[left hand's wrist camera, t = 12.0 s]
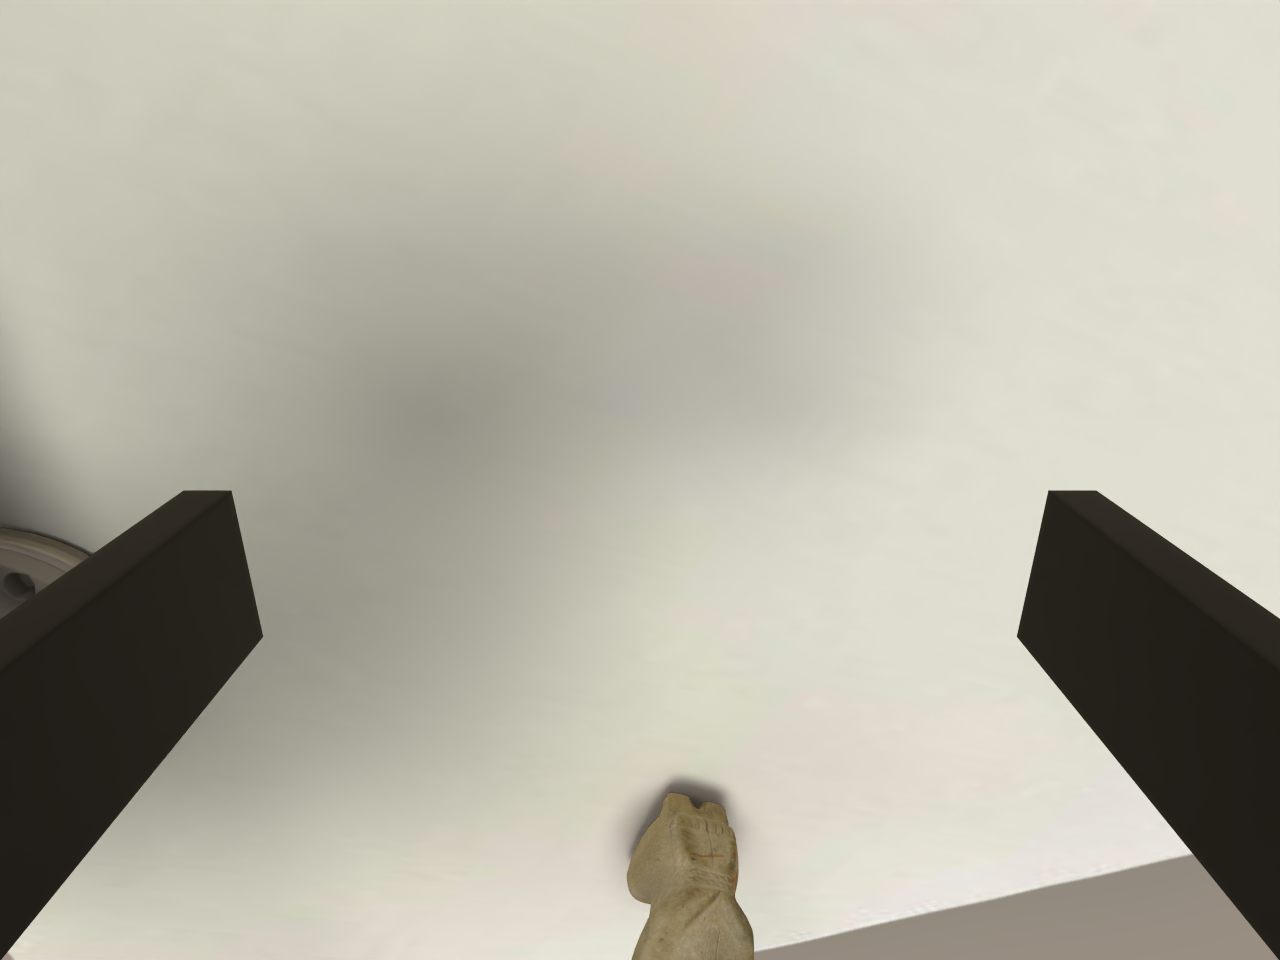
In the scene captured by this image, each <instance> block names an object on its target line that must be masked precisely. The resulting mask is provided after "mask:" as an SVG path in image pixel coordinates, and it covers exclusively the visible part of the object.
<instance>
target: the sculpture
mask: <svg viewBox="0 0 1280 960" xmlns="http://www.w3.org/2000/svg"><path fill="white" fill-rule="evenodd" d="M737 881H738V854H737V845H736V839H735V834H734V831H733V830H732V828H731V827H729V826H728V820H727V816H726V811H725V809H724V807H723V806H721V805H718V804H715V803H712V802H704V803H703V804H702V805H701V806H700V808H699V809H697V808H695V807H694V806H693V804H692V802H691V801H690V799H689V797H688V796H686V795H682V794H677V793H669V794H668V795H667V796H666V797H665V799H664V801H663V804H662V811H661V813H660V815H659V817H658V818H657V819H656V820H655V821H654V822H653V823H652V824H651V825H650V826H649V827H648V829H647V830H646V832H645V833H644V835H643V836H642V838H641V840H640V842H639V843H638V845H637V847H636V849H635V851H634V853H633V856H632V859H631V862H630V865H629V869H628V873H627V883H628V888H629V891H630V893H631V895H632V896H633V897H634V898H635V899H636V900H638V901H640V902H643V903H647V904H651V909H650V915H649V918H648V920H647V922H646V924H645V926H644V929H643V931H642V933H641V935H640V937H639V940H638V943H637V945H636V948H635V951H634V954H633V957H632V960H754V940H753V932H752V928H751V926H750V924H749V921H748V919H747V917H746V916H745V914H744V912H743V911H742V909H741V908H740V906H739V905H738V903H737V901H736V899H735V891H736V887H737Z"/></svg>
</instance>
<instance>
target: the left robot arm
mask: <svg viewBox="0 0 1280 960" xmlns="http://www.w3.org/2000/svg"><path fill="white" fill-rule="evenodd" d="M262 637H263V634H262V629H261V625H260V620H259V615H258V611H257V606H256V602H255V597H254V592H253V588H252V583H251V579H250V574H249V569H248V565H247V560H246V556H245V551H244V546H243V542H242V537H241V532H240V528H239V523H238V519H237V514H236V509H235V505H234V500H233V496H232V491H182V492H181V493H180V494H178V495H177V496H175V497H174V498H172V499H171V500H170V501H168V502H167V503H165V504H164V505H162V506H161V507H160V508H158V509H157V510H155V511H154V512H152V513H151V514H150V515H148V516H147V517H145V518H144V519H142V520H141V521H140V522H138V523H137V524H135V525H134V526H132V527H131V528H129V529H128V530H127V531H125V532H124V533H122V534H121V535H119V536H118V537H117V538H115V539H114V540H112V541H111V542H109V543H108V544H107V545H105V546H104V547H102V548H101V549H99V550H98V551H97V552H95V553H94V554H92V555H91V556H89V555H87V554H85V553H83V552H81V551H79V550H77V549H75V548H73V547H70V546H68V545H66V544H64V543H61V542H58V541H55V540H53V539H50V538H47V537H44V536H40V535H36V534H33V533H29V532H24V531H18V530H13V529H5V528H0V960H1V959H2V958H3V957H4V955H5V954H6V953H7V952H8V951H9V949H10V948H11V947H12V946H13V944H14V943H15V942H16V941H17V939H18V938H19V937H20V936H21V935H22V933H23V932H24V931H25V930H26V928H27V927H28V926H29V925H30V923H31V922H32V921H33V920H34V919H35V917H36V916H37V915H38V914H39V912H40V911H41V910H42V909H43V907H44V906H45V905H46V904H47V902H48V901H49V900H50V899H51V898H52V896H53V895H54V894H55V893H56V891H57V890H58V889H59V888H60V886H61V885H62V884H63V883H64V882H65V880H66V879H67V878H68V877H69V875H70V874H71V873H72V872H73V870H74V869H75V868H76V867H77V865H78V864H79V863H80V862H81V861H82V859H83V858H84V857H85V856H86V854H87V853H88V852H89V851H90V849H91V848H92V847H93V846H94V845H95V843H96V842H97V841H98V840H99V838H100V837H101V836H102V835H103V833H104V832H105V831H106V830H107V828H108V827H109V826H110V825H111V824H112V822H113V821H114V820H115V819H116V817H117V816H118V815H119V814H120V812H121V811H122V810H123V809H124V808H125V806H126V805H127V804H128V803H129V801H130V800H131V799H132V798H133V796H134V795H135V794H136V793H137V792H138V790H139V789H140V788H141V787H142V785H143V784H144V783H145V782H146V780H147V779H148V778H149V777H150V775H151V774H152V773H153V772H154V771H155V769H156V768H157V767H158V766H159V764H160V763H161V762H162V761H163V759H164V758H165V757H166V756H167V755H168V753H169V752H170V751H171V750H172V748H173V747H174V746H175V745H176V743H177V742H178V741H179V740H180V738H181V737H182V736H183V735H184V734H185V732H186V731H187V730H188V729H189V727H190V726H191V725H192V724H193V722H194V721H195V720H196V719H197V718H198V716H199V715H200V714H201V713H202V711H203V710H204V709H205V708H206V706H207V705H208V704H209V703H210V701H211V700H212V699H213V698H214V697H215V695H216V694H217V693H218V692H219V690H220V689H221V688H222V687H223V685H224V684H225V683H226V682H227V681H228V679H229V678H230V677H231V676H232V674H233V673H234V672H235V671H236V669H237V668H238V667H239V666H240V664H241V663H242V662H243V661H244V660H245V658H246V657H247V656H248V655H249V653H250V652H251V651H252V650H253V648H254V647H255V646H256V645H257V644H258V642H259V641H260V640H261V639H262ZM1017 637H1018V639H1019V640H1020V641H1021V642H1022V644H1023V645H1024V646H1025V647H1026V648H1027V650H1028V651H1029V652H1030V653H1031V655H1032V656H1033V657H1034V658H1035V660H1036V661H1037V662H1038V663H1039V664H1040V666H1041V667H1042V668H1043V669H1044V671H1045V672H1046V673H1047V674H1048V676H1049V677H1050V678H1051V679H1052V681H1053V682H1054V683H1055V684H1056V685H1057V687H1058V688H1059V689H1060V690H1061V692H1062V693H1063V694H1064V695H1065V697H1066V698H1067V699H1068V700H1069V701H1070V703H1071V704H1072V705H1073V706H1074V708H1075V709H1076V710H1077V711H1078V713H1079V714H1080V715H1081V716H1082V718H1083V719H1084V720H1085V721H1086V722H1087V724H1088V725H1089V726H1090V727H1091V729H1092V730H1093V731H1094V732H1095V734H1096V735H1097V736H1098V737H1099V738H1100V740H1101V741H1102V742H1103V743H1104V745H1105V746H1106V747H1107V748H1108V750H1109V751H1110V752H1111V753H1112V755H1113V756H1114V757H1115V758H1116V759H1117V761H1118V762H1119V763H1120V764H1121V766H1122V767H1123V768H1124V769H1125V771H1126V772H1127V773H1128V774H1129V775H1130V777H1131V778H1132V779H1133V780H1134V782H1135V783H1136V784H1137V785H1138V787H1139V788H1140V789H1141V790H1142V792H1143V793H1144V794H1145V795H1146V796H1147V798H1148V799H1149V800H1150V801H1151V803H1152V804H1153V805H1154V806H1155V808H1156V809H1157V810H1158V811H1159V812H1160V814H1161V815H1162V816H1163V817H1164V819H1165V820H1166V821H1167V822H1168V824H1169V825H1170V826H1171V827H1172V828H1173V830H1174V831H1175V832H1176V833H1177V835H1178V836H1179V837H1180V838H1181V840H1182V841H1183V842H1184V843H1185V845H1186V846H1187V847H1188V848H1189V849H1190V851H1191V852H1192V853H1193V854H1194V856H1195V857H1196V858H1197V859H1198V861H1199V862H1200V863H1201V864H1202V865H1203V867H1204V868H1205V869H1206V870H1207V872H1208V873H1209V874H1210V875H1211V877H1212V878H1213V879H1214V880H1215V882H1216V883H1217V884H1218V885H1219V886H1220V888H1221V889H1222V890H1223V891H1224V893H1225V894H1226V895H1227V896H1228V898H1229V899H1230V900H1231V901H1232V902H1233V904H1234V905H1235V906H1236V907H1237V909H1238V910H1239V911H1240V912H1241V914H1242V915H1243V916H1244V917H1245V919H1246V920H1247V921H1248V922H1249V923H1250V925H1251V926H1252V927H1253V928H1254V930H1255V931H1256V932H1257V933H1258V935H1259V936H1260V937H1261V938H1262V939H1263V941H1264V942H1265V943H1266V944H1267V946H1268V947H1269V948H1270V949H1271V951H1272V952H1273V953H1274V954H1275V956H1276V957H1277V958H1278V959H1279V960H1280V619H1279V618H1278V617H1276V616H1275V615H1274V614H1272V613H1271V612H1269V611H1268V610H1266V609H1265V608H1264V607H1262V606H1261V605H1259V604H1258V603H1256V602H1255V601H1254V600H1252V599H1251V598H1249V597H1248V596H1246V595H1245V594H1244V593H1242V592H1241V591H1239V590H1238V589H1236V588H1235V587H1234V586H1232V585H1231V584H1229V583H1228V582H1226V581H1225V580H1224V579H1222V578H1221V577H1219V576H1218V575H1216V574H1215V573H1213V572H1212V571H1211V570H1209V569H1208V568H1206V567H1205V566H1203V565H1202V564H1201V563H1199V562H1198V561H1196V560H1195V559H1193V558H1192V557H1191V556H1189V555H1188V554H1186V553H1185V552H1183V551H1182V550H1181V549H1179V548H1178V547H1176V546H1175V545H1173V544H1172V543H1171V542H1169V541H1168V540H1166V539H1165V538H1163V537H1162V536H1161V535H1159V534H1158V533H1156V532H1155V531H1153V530H1152V529H1151V528H1149V527H1148V526H1146V525H1145V524H1143V523H1142V522H1140V521H1139V520H1138V519H1136V518H1135V517H1133V516H1132V515H1130V514H1129V513H1128V512H1126V511H1125V510H1123V509H1122V508H1120V507H1119V506H1118V505H1116V504H1115V503H1113V502H1112V501H1110V500H1109V499H1108V498H1106V497H1105V496H1103V495H1102V494H1100V493H1099V492H1098V491H1048V496H1047V500H1046V505H1045V509H1044V514H1043V519H1042V523H1041V528H1040V532H1039V537H1038V542H1037V546H1036V551H1035V556H1034V560H1033V565H1032V569H1031V574H1030V579H1029V583H1028V588H1027V592H1026V597H1025V602H1024V606H1023V611H1022V615H1021V620H1020V625H1019V629H1018V634H1017Z"/></svg>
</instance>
